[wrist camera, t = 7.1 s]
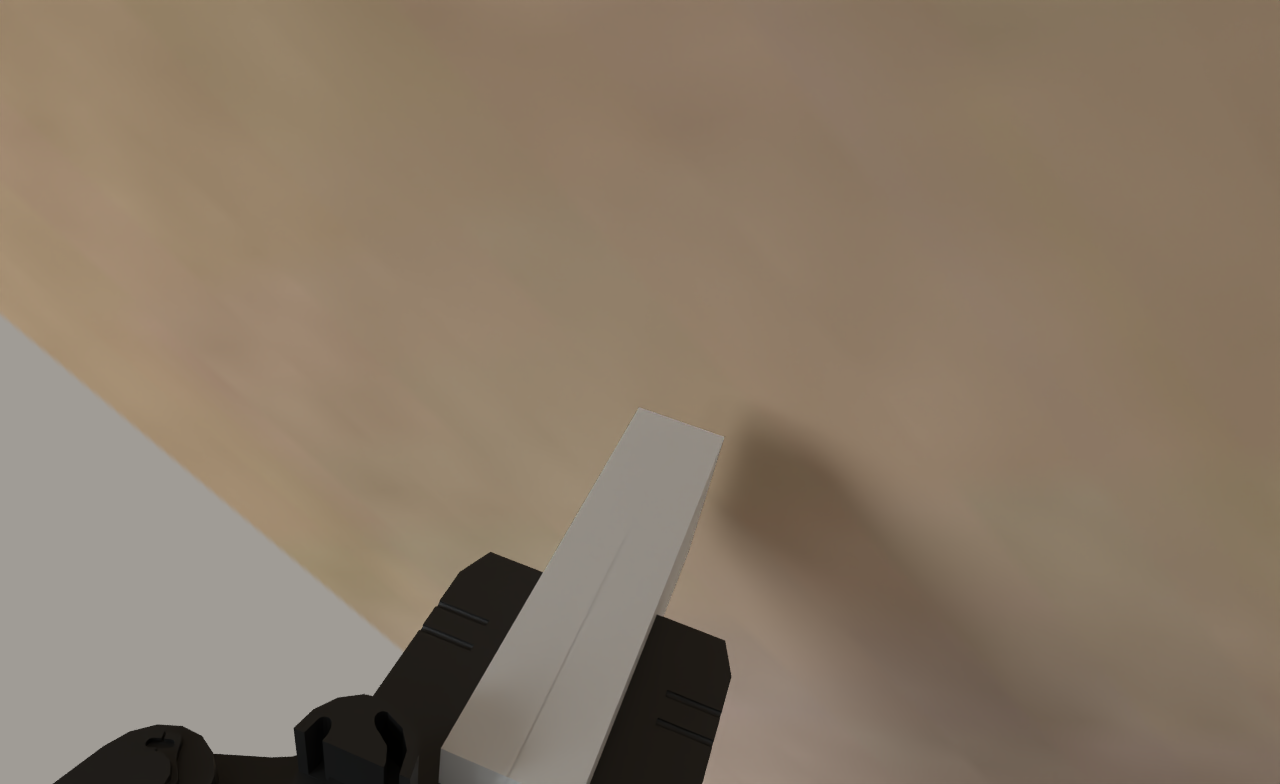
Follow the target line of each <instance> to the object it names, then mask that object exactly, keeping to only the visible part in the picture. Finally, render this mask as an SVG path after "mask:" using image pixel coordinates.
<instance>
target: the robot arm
mask: <svg viewBox="0 0 1280 784" xmlns="http://www.w3.org/2000/svg"><path fill="white" fill-rule="evenodd" d="M723 441H724V436H721V435H718V434H715V433H712V432H710V431H707V430H704V429H701V428H698V427H695V426H692V425H689V424H687V423H684V422H681V421H678V420H675V419H672V418H669V417H666V416H663V415H661V414H658V413H655V412H652V411H649V410H646V409H643V408H640V407H639V408H638V410H637V411H636V413H635V415H634V417H633V418H632V420H631V422H630V424H629V425H628V427H627V429H626V430H625V432H624V434H623V436H622V437H621V439H620V441H619V442H618V444H617V446H616V448H615V449H614V451H613V453H612V455H611V456H610V458H609V460H608V461H607V463H606V465H605V467H604V468H603V470H602V472H601V473H600V475H599V477H598V479H597V480H596V482H595V484H594V486H593V487H592V489H591V491H590V492H589V494H588V496H587V498H586V499H585V501H584V503H583V504H582V506H581V508H580V510H579V511H578V513H577V515H576V517H575V518H574V520H573V522H572V523H571V525H570V527H569V529H568V530H567V532H566V534H565V535H564V537H563V539H562V541H561V542H560V544H559V546H558V548H557V549H556V551H555V553H554V554H553V556H552V558H551V560H550V561H549V563H548V565H547V566H546V568H545V570H544V572H541V571H538V570H536V569H533V568H530V567H528V566H525V565H523V564H520V563H517V562H515V561H512V560H510V559H507V558H505V557H502V556H499V555H497V554H494V553H492V552H490V553H488V554H487V555H485V556H484V557H482V558H480V559H479V560H477V561H476V562H474V563H473V564H471V565H470V566H468V567H467V568H465V569H464V570H462V571H460V572H459V574H458V575H457V577H456V578H455V580H454V581H453V582H452V584H451V585H450V587H449V588H448V590H447V591H446V592H445V594H444V595H443V597H442V598H441V600H440V602H439V604H438V606H437V607H435V608H434V610H433V611H432V612H431V614H430V615H429V617H428V618H427V620H426V621H425V622H424V624H423V627H422V629H421V630H419V631H418V632H417V634H416V635H415V637H414V638H413V640H412V641H411V642H410V644H409V645H408V647H407V648H406V650H405V651H404V652H403V654H402V655H401V657H400V658H399V660H398V661H397V662H396V664H395V666H394V667H393V668H392V670H391V671H390V673H389V674H388V675H387V677H386V678H385V680H384V681H383V683H382V684H381V685H380V687H379V688H378V690H377V691H376V693H375V694H374V695H373V696H369V695H365V694H362V695H355V696H347V697H340V698H336V699H334V700H332V701H330V702H328V703H326V704H324V705H322V706H320V707H317V708H315V709H313V710H312V711H311V712H310V713H309V714H308V715H307V716H306V717H305V718H304V719H303V720H302V721H301V722H300V723H299V724H297V725H296V727H294V734H295V743H296V751H297V755H296V756H293V757H273V758H269V757H256V756H240V755H223V754H213V752H212V751H211V749H210V748H209V746H208V745H207V743H206V742H205V740H204V739H203V737H202V736H201V735H199V734H197V733H195V732H193V731H191V730H189V729H187V728H185V727H183V726H171V725H154V726H150V727H146V728H142V729H138V730H134V731H130V732H128V733H127V734H125V735H123V736H121V737H119V738H117V739H116V740H114V741H112V742H110V743H108V744H107V745H105V746H103V747H102V748H100V749H99V750H98V751H97V752H95V753H94V754H92V755H91V756H90V757H88V758H87V759H86V760H84V761H83V762H82V763H80V764H79V765H78V766H76V767H75V768H74V769H72V770H71V771H69V772H68V773H67V774H65V775H64V776H63V777H61V778H60V779H59V780H57V781H56V782H55V783H53V784H702V782H703V779H704V775H705V771H706V768H707V764H708V760H709V757H710V753H711V749H712V744H713V742H714V738H715V735H716V731H717V727H718V724H719V720H720V715H721V712H722V709H723V705H724V702H725V698H726V694H727V691H728V687H729V683H730V680H731V672H730V666H729V660H728V655H727V649H726V643H725V640H722V639H719V638H717V637H714V636H712V635H709V634H706V633H704V632H701V631H699V630H696V629H693V628H691V627H688V626H686V625H683V624H681V623H678V622H675V621H673V620H670V619H668V618H665V617H663V616H664V614H665V611H666V609H667V606H668V603H669V601H670V598H671V596H672V593H673V590H674V588H675V585H676V583H677V580H678V578H679V575H680V572H681V570H682V567H683V565H684V562H685V559H686V557H687V554H688V552H689V549H690V545H691V542H692V539H693V536H694V533H695V530H696V526H697V523H698V520H699V517H700V514H701V510H702V507H703V504H704V501H705V498H706V495H707V491H708V488H709V485H710V482H711V479H712V476H713V472H714V469H715V466H716V463H717V460H718V456H719V453H720V450H721V447H722V444H723Z"/></svg>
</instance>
